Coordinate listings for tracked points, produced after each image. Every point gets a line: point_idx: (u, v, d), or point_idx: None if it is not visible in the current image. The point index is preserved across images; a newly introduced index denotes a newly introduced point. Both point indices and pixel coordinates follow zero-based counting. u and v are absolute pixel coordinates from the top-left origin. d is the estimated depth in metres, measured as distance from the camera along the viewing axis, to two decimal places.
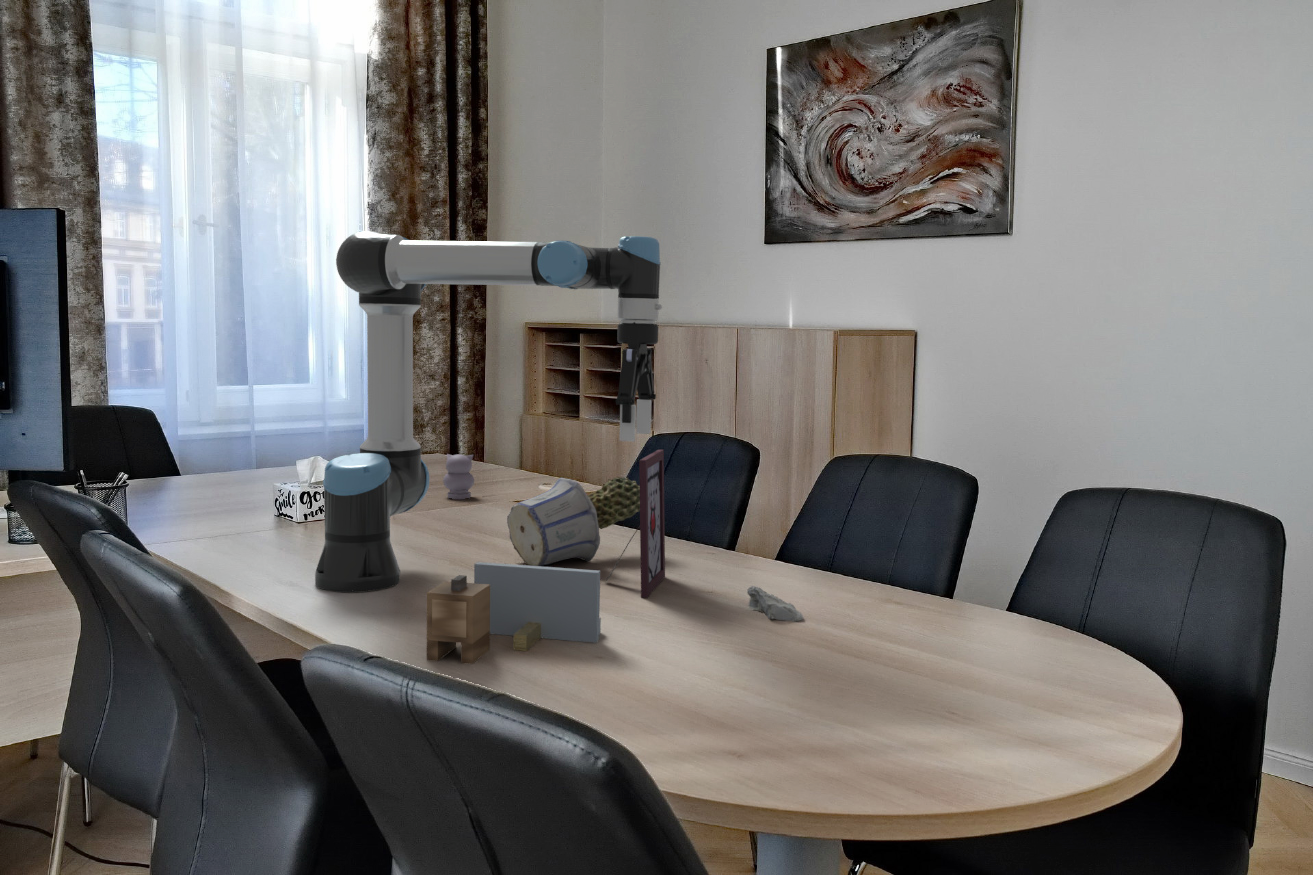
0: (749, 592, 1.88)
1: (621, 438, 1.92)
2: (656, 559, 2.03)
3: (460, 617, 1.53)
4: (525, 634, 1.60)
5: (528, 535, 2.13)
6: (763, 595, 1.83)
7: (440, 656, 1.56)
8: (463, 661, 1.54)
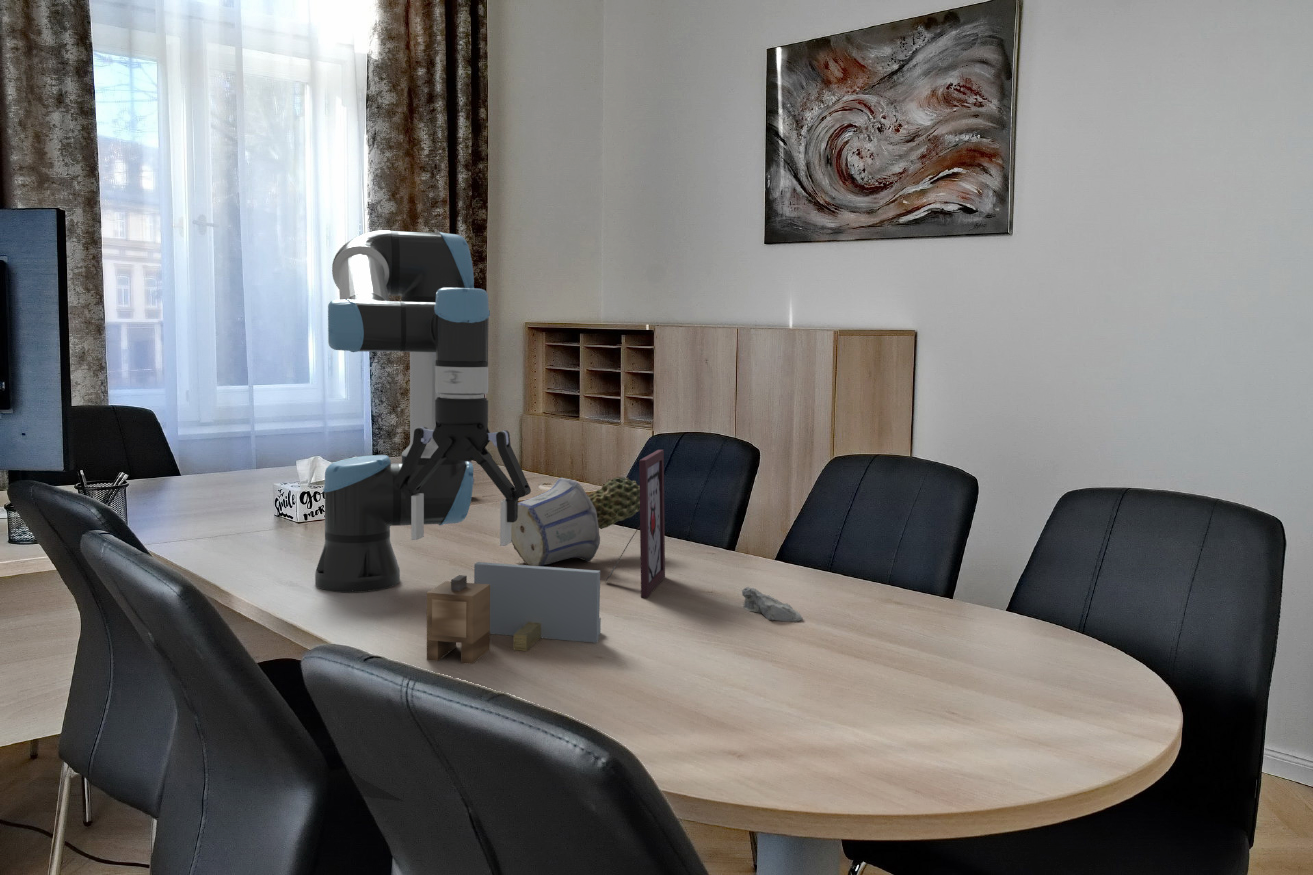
0: (744, 593, 1.87)
1: None
2: (656, 559, 2.03)
3: (460, 617, 1.53)
4: (525, 634, 1.60)
5: (528, 534, 2.13)
6: (761, 596, 1.82)
7: (440, 656, 1.56)
8: (463, 661, 1.54)
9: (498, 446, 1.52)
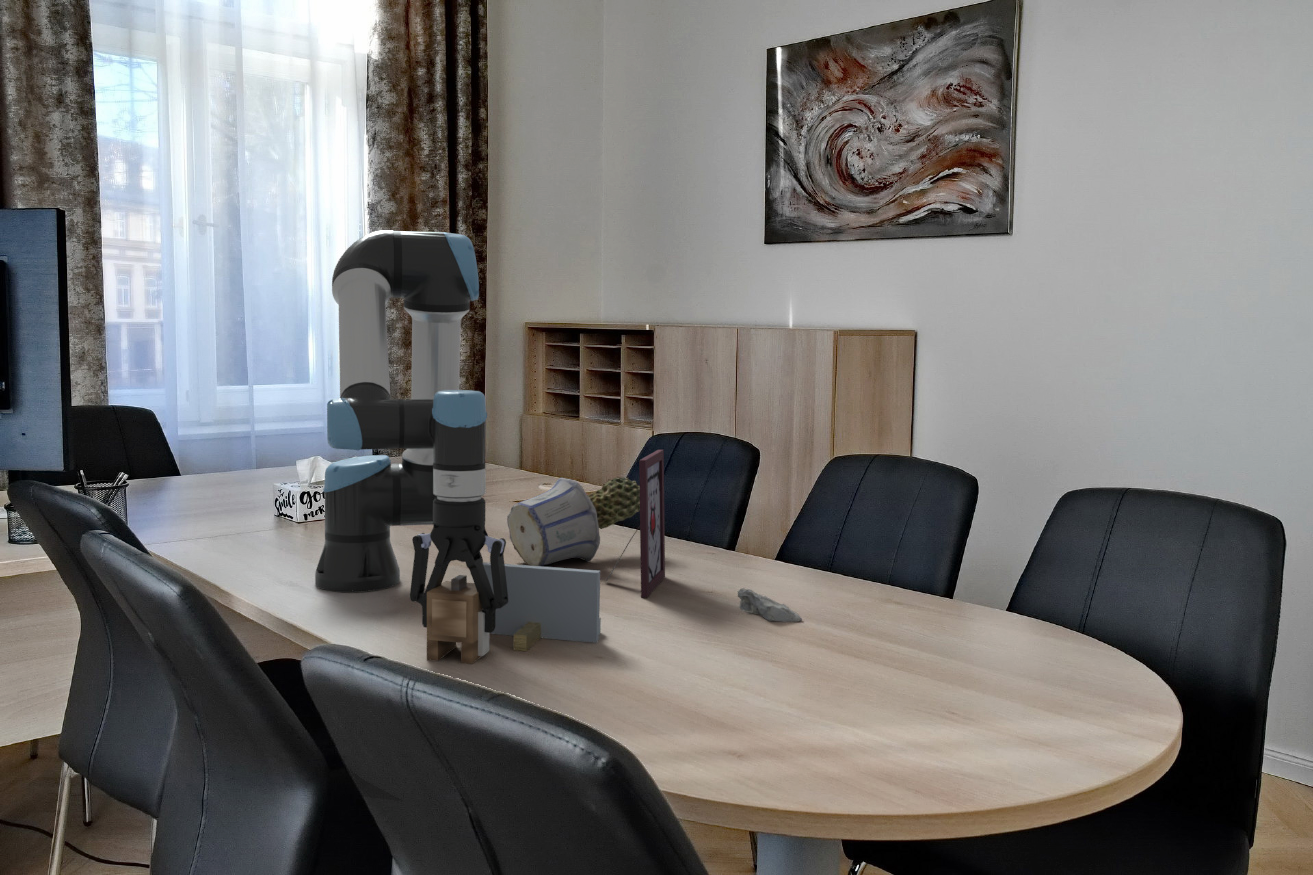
0: (741, 595, 1.86)
1: None
2: (656, 559, 2.03)
3: (460, 617, 1.53)
4: (525, 634, 1.60)
5: (528, 534, 2.13)
6: (759, 597, 1.82)
7: (440, 656, 1.56)
8: (463, 661, 1.54)
9: (491, 554, 1.54)
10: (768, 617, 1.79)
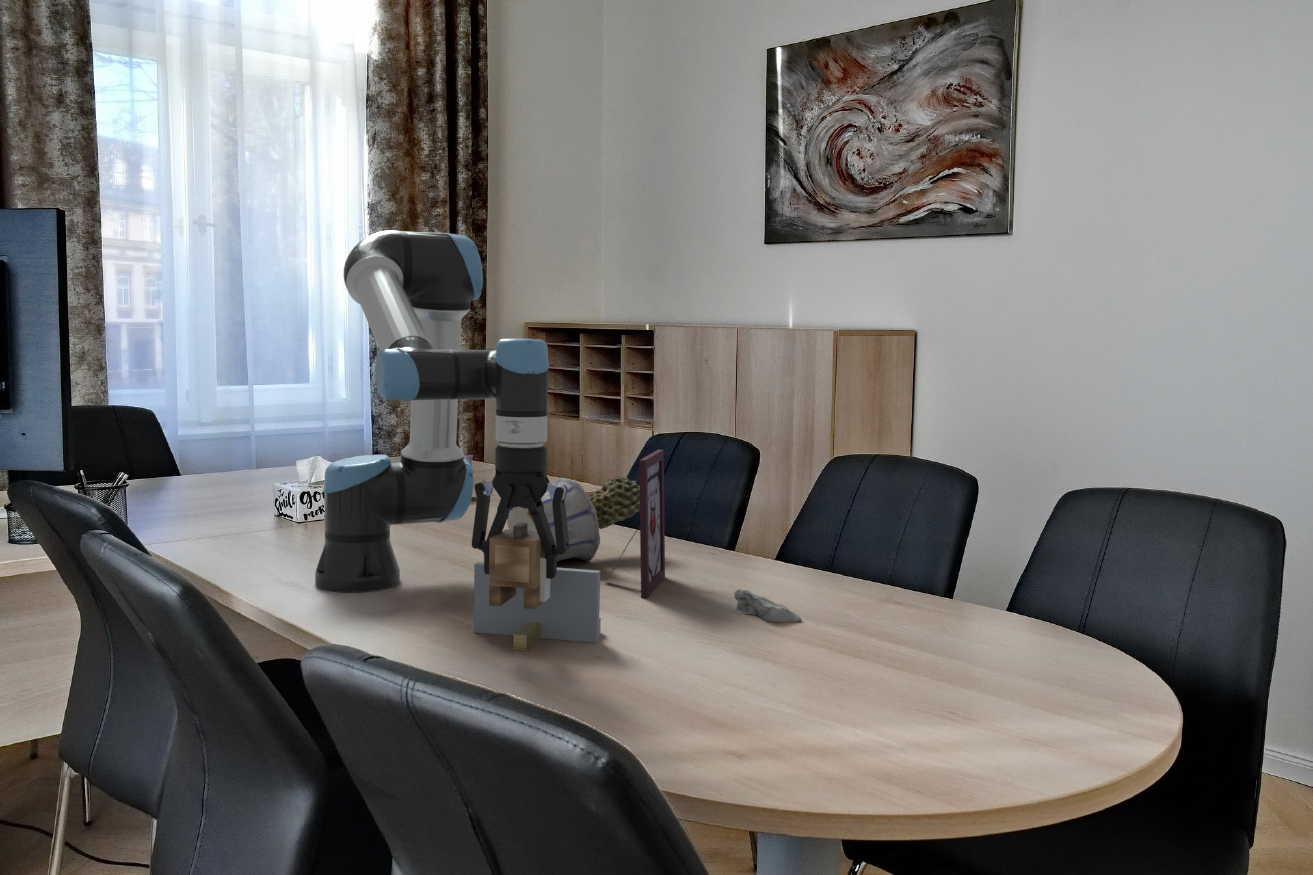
0: (738, 596, 1.85)
1: None
2: (656, 559, 2.03)
3: (523, 562, 1.54)
4: (525, 634, 1.60)
5: None
6: (758, 598, 1.81)
7: (502, 602, 1.57)
8: (526, 606, 1.55)
9: (554, 500, 1.55)
10: (769, 618, 1.78)
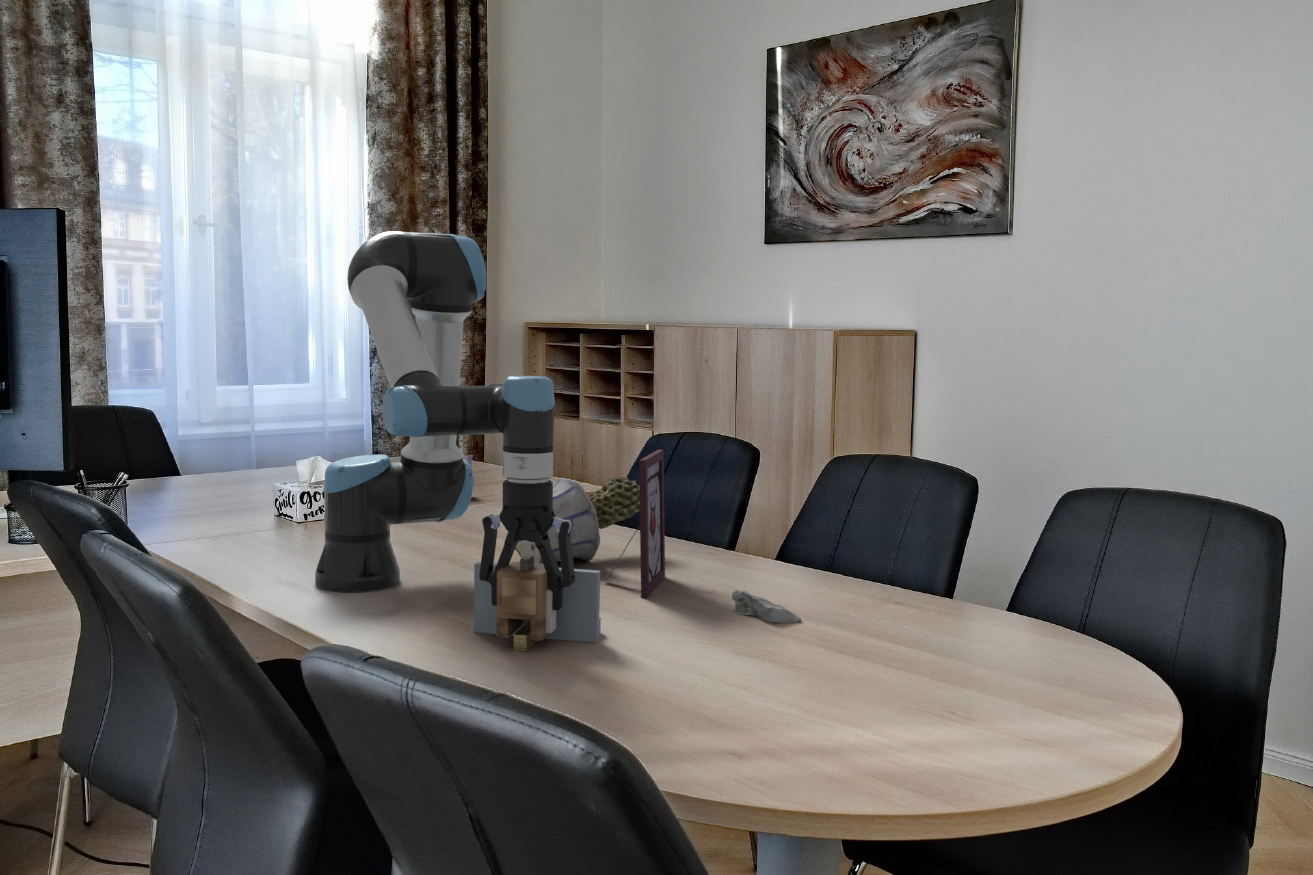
0: (736, 597, 1.84)
1: None
2: (656, 559, 2.03)
3: (530, 595, 1.58)
4: (525, 634, 1.60)
5: None
6: (757, 599, 1.81)
7: (509, 633, 1.61)
8: (532, 638, 1.59)
9: (559, 534, 1.59)
10: (769, 619, 1.78)
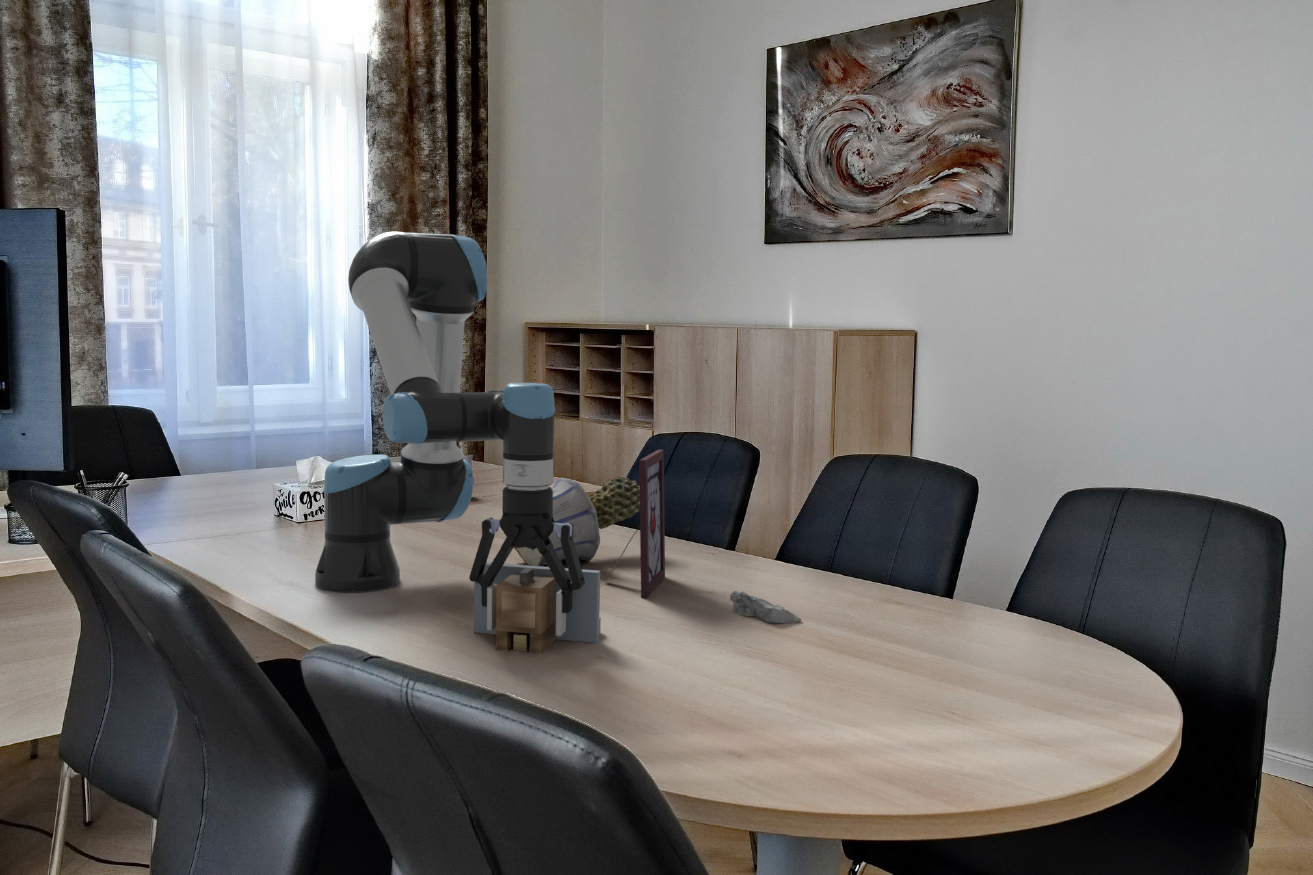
0: (735, 598, 1.84)
1: None
2: (656, 559, 2.03)
3: (529, 608, 1.58)
4: (525, 634, 1.60)
5: None
6: (757, 599, 1.80)
7: (509, 646, 1.61)
8: (532, 651, 1.59)
9: (561, 538, 1.59)
10: (770, 619, 1.77)
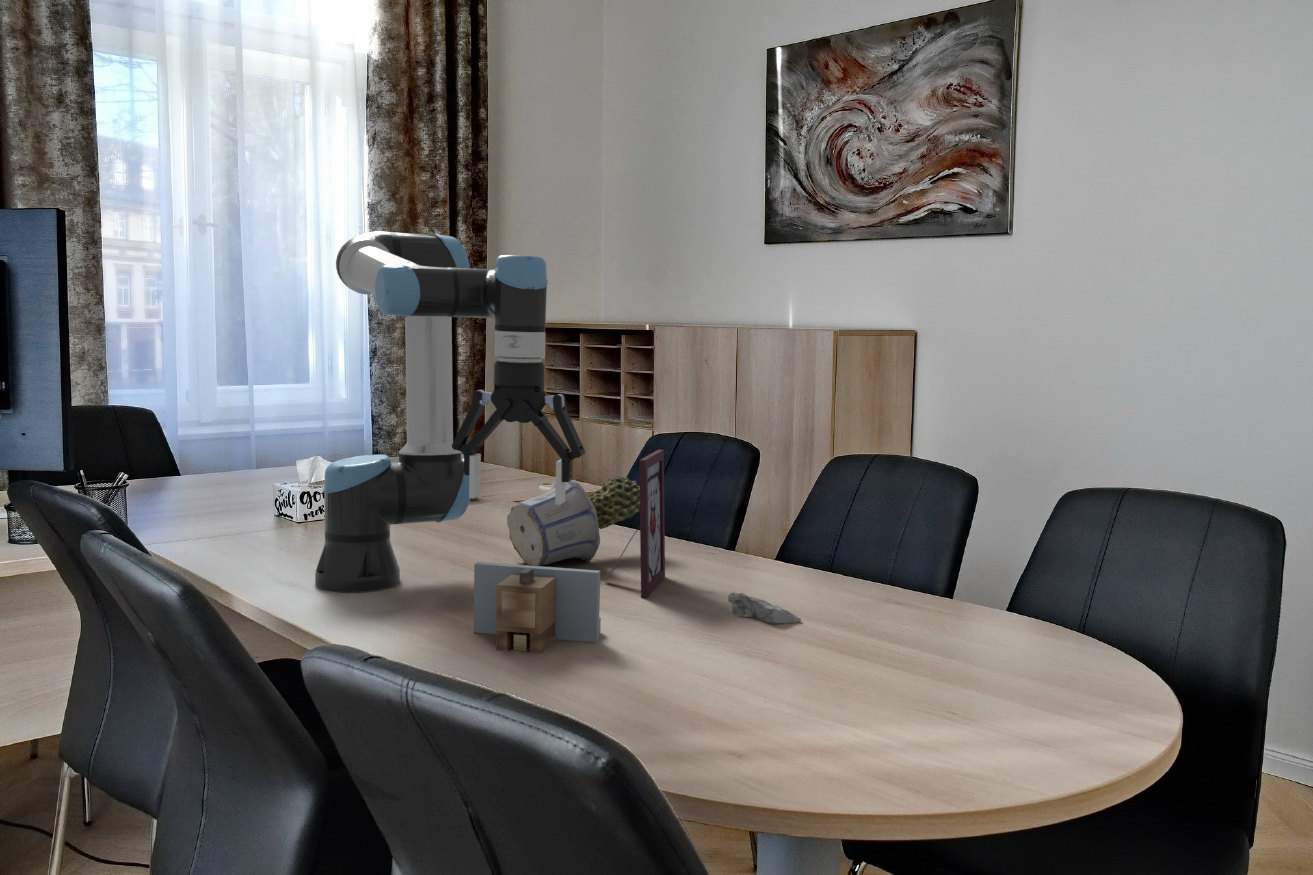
0: (733, 599, 1.83)
1: None
2: (656, 559, 2.03)
3: (529, 608, 1.58)
4: (525, 634, 1.60)
5: (528, 534, 2.13)
6: (757, 600, 1.80)
7: (509, 646, 1.61)
8: (532, 651, 1.59)
9: (554, 409, 1.58)
10: (771, 620, 1.77)
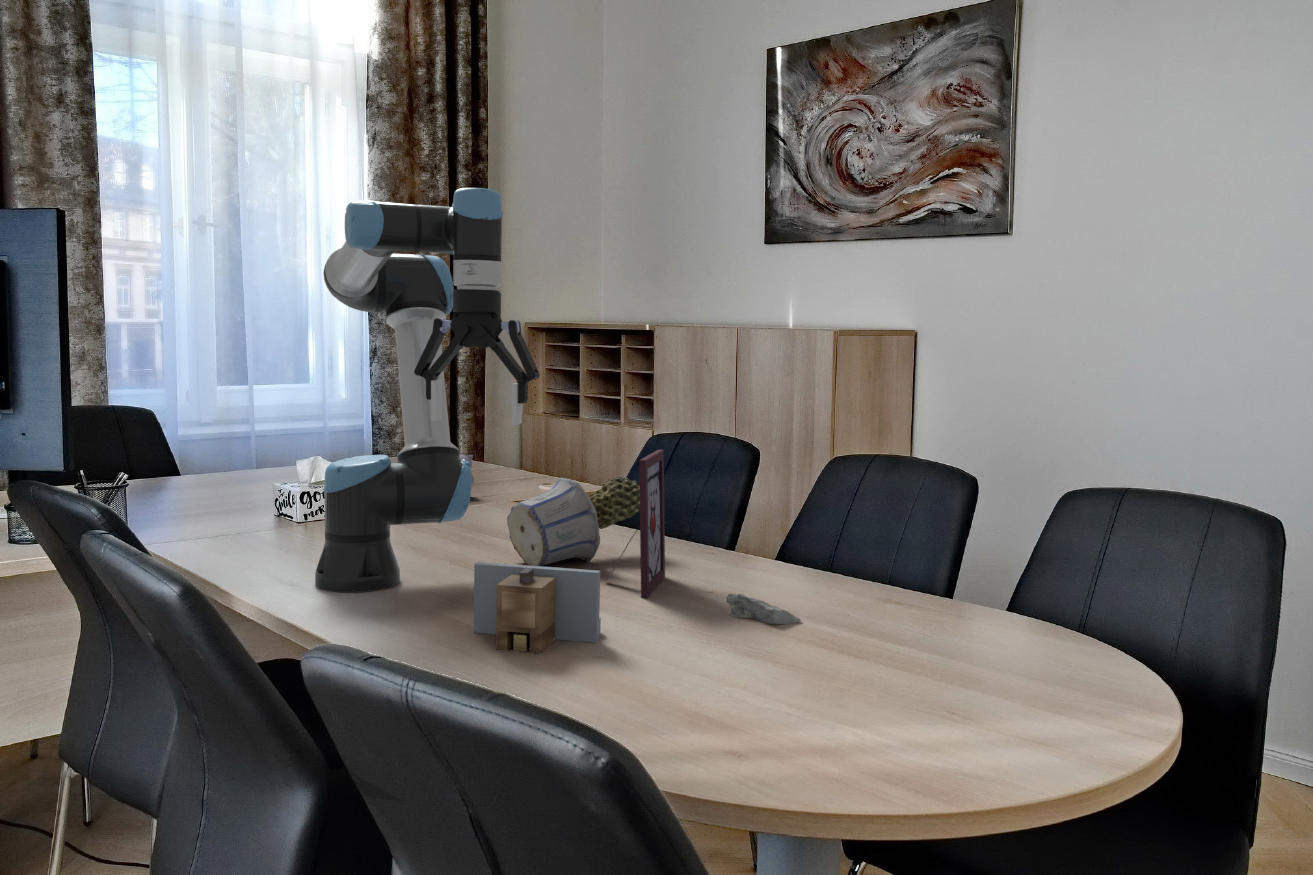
0: (732, 600, 1.82)
1: None
2: (656, 559, 2.03)
3: (529, 608, 1.58)
4: (525, 634, 1.60)
5: (528, 535, 2.13)
6: (757, 601, 1.79)
7: (509, 646, 1.61)
8: (532, 651, 1.59)
9: (510, 333, 1.68)
10: (772, 621, 1.76)
